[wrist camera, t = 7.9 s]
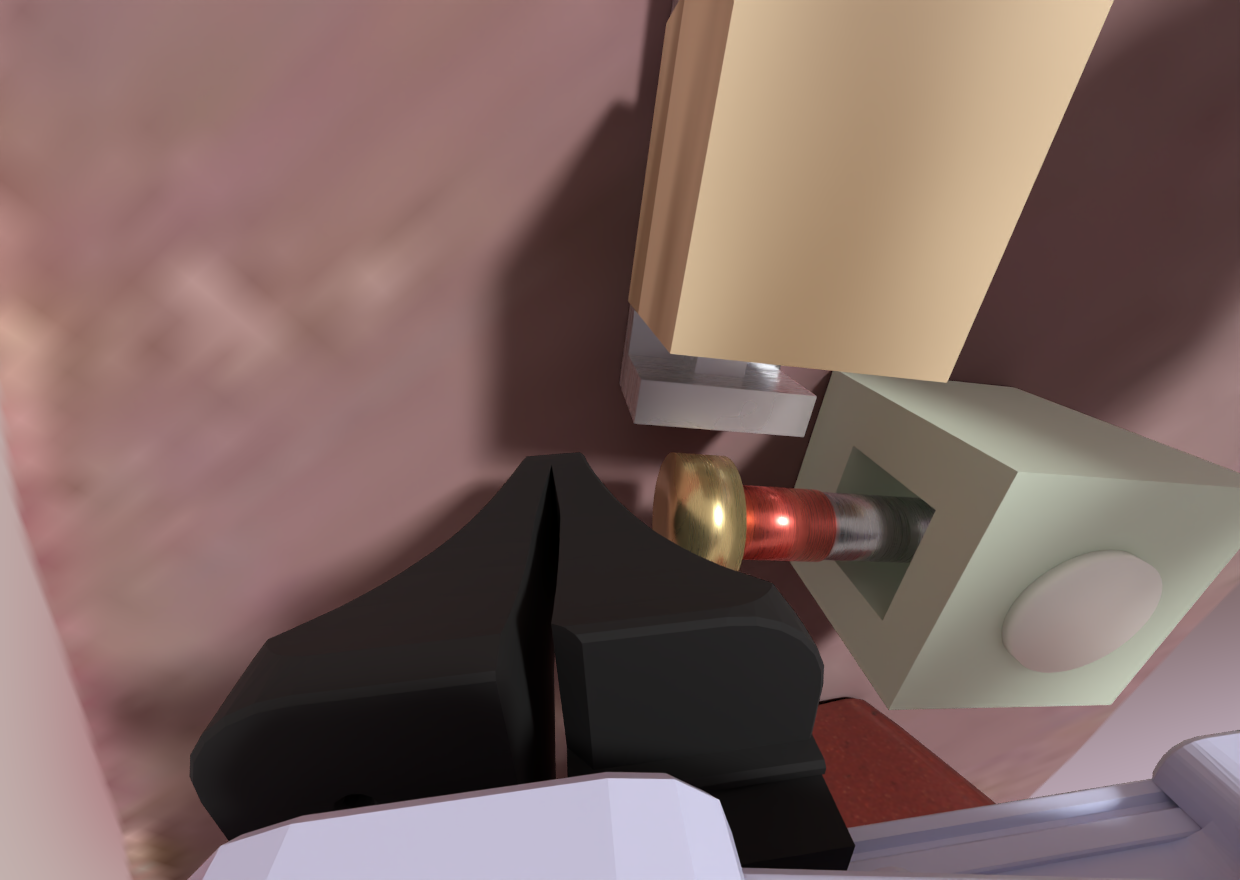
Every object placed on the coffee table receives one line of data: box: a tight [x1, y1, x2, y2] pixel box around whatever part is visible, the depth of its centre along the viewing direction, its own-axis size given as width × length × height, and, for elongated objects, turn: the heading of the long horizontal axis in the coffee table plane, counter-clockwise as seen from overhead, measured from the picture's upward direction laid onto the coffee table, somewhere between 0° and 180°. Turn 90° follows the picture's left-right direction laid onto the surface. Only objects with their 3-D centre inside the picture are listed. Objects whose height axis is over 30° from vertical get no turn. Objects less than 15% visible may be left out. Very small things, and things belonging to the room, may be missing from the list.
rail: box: [619, 0, 817, 437], centre depth 9 cm, size 4×16×3 cm, turn 172°
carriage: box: [628, 0, 1114, 383], centre depth 8 cm, size 4×5×4 cm
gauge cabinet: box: [790, 371, 1240, 710], centre depth 12 cm, size 6×6×6 cm
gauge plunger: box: [652, 452, 936, 571], centre depth 11 cm, size 7×3×3 cm, turn 82°
